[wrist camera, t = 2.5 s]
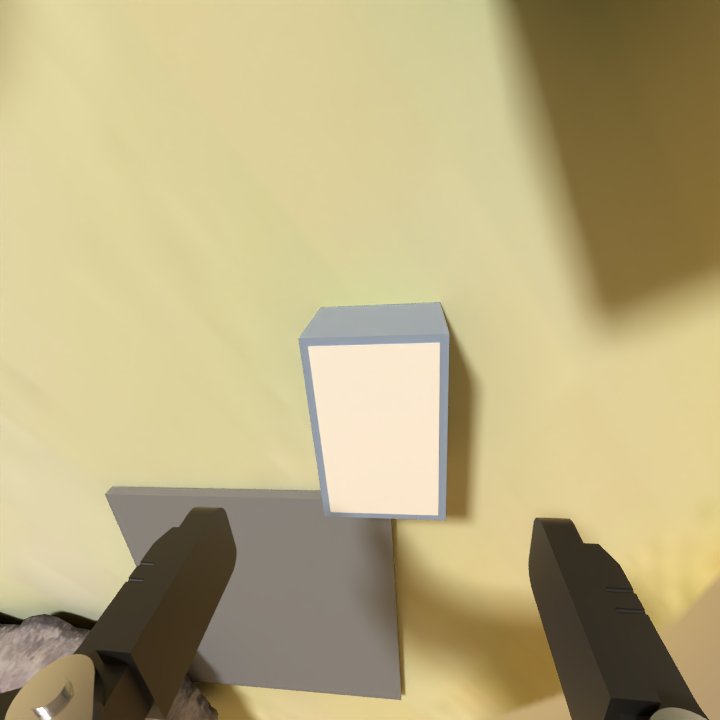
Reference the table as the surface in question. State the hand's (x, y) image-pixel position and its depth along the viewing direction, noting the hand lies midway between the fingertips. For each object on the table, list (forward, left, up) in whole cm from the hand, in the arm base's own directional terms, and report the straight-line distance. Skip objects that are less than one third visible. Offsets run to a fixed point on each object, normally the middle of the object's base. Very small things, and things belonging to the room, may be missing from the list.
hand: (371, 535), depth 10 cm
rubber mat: (-8, -15, -8) cm, 19 cm away
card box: (0, 0, -9) cm, 9 cm away
